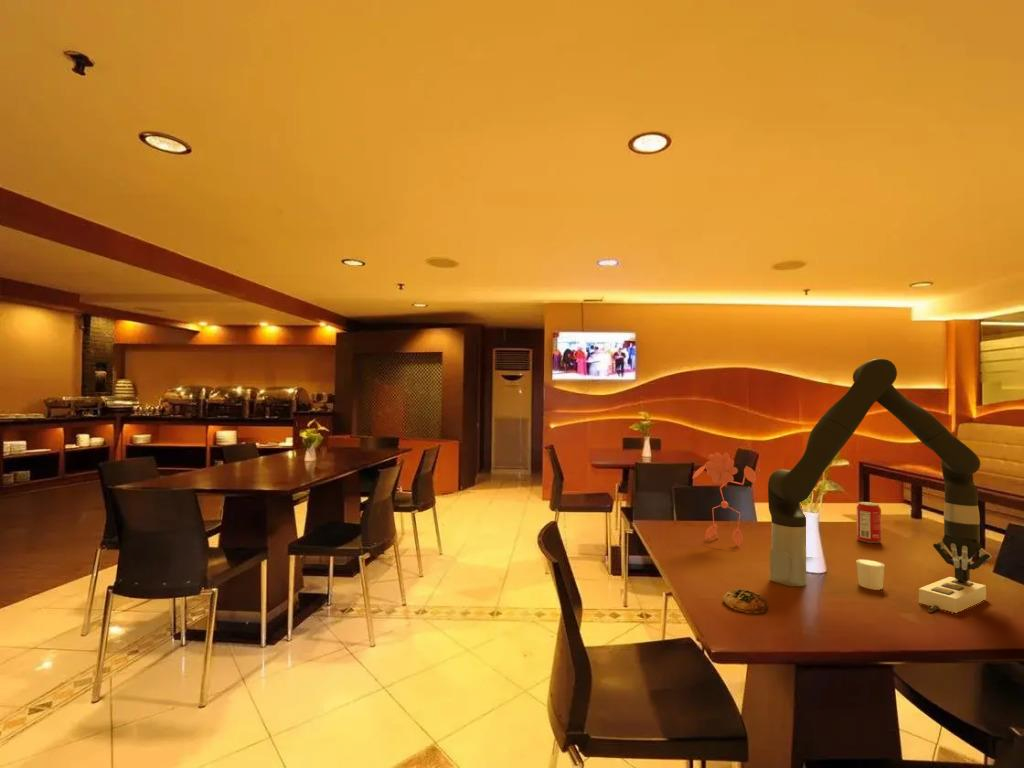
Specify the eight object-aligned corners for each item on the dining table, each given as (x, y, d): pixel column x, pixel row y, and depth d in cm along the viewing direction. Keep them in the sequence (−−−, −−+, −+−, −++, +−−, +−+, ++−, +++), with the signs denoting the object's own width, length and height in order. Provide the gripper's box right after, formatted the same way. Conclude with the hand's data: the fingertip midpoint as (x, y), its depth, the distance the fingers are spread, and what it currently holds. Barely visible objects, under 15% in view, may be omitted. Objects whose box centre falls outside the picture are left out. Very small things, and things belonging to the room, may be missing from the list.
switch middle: (958, 598, 135) (958, 589, 135) (941, 593, 138) (941, 584, 139) (963, 595, 137) (963, 586, 137) (947, 591, 140) (947, 582, 140)
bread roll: (778, 609, 131) (775, 590, 131) (751, 624, 125) (748, 603, 125) (740, 596, 140) (738, 578, 140) (713, 609, 135) (711, 590, 135)
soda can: (859, 542, 196) (859, 504, 197) (854, 538, 203) (854, 500, 204) (884, 545, 193) (883, 506, 194) (878, 540, 200) (877, 502, 201)
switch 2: (968, 593, 139) (968, 585, 139) (951, 589, 142) (951, 581, 142) (973, 591, 140) (973, 582, 141) (956, 587, 144) (956, 578, 144)
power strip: (948, 618, 127) (948, 602, 127) (911, 606, 134) (911, 591, 134) (986, 600, 139) (985, 585, 140) (949, 590, 146) (949, 576, 146)
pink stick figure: (699, 533, 206) (698, 448, 206) (763, 548, 186) (762, 453, 187) (678, 540, 196) (677, 450, 197) (744, 557, 176) (743, 457, 177)
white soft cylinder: (878, 583, 151) (878, 560, 151) (889, 591, 145) (889, 567, 145) (852, 581, 153) (852, 557, 153) (861, 589, 146) (861, 564, 147)
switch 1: (948, 602, 132) (948, 593, 132) (931, 598, 135) (931, 589, 135) (954, 600, 134) (953, 591, 134) (937, 595, 137) (937, 586, 137)
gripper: (926, 516, 146) (927, 577, 145) (987, 526, 134) (988, 592, 134) (938, 513, 149) (939, 572, 149) (997, 523, 138) (998, 587, 137)
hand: (962, 581), depth 141 cm, fingers closed
